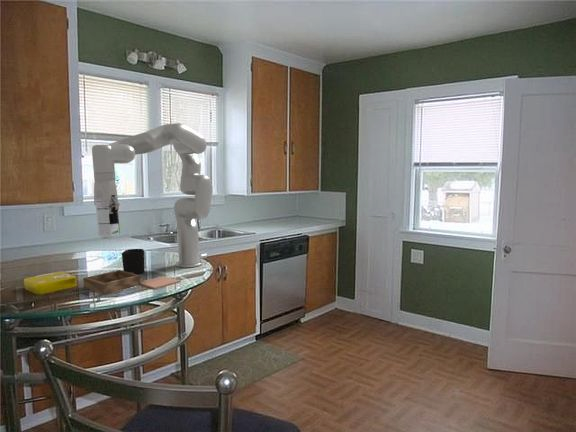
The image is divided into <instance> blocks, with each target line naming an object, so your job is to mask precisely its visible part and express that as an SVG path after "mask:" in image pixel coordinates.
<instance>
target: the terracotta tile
mask: <svg viewBox="0 0 576 432" xmlns="http://www.w3.org/2000/svg"><path fill="white" fill-rule="evenodd" d="M181 282H182V281H181V280H180V279H176V278H172V277H168V276H164V275H162V276H159V277H154V278H151V279H146V280H143V281H141V285H140V286H144V287H146V288H151V289H154V290H157V289H160V288H164V287H168V286H171V285H175V284H178V283H181Z"/></svg>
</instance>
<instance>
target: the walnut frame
mask: <svg viewBox="0 0 576 432" xmlns="http://www.w3.org/2000/svg"><path fill="white" fill-rule="evenodd" d="M82 279H83V288H84V289H86V290H89V291H92V292H95V293H97V294H101V295H103V296H104V295H109V294H113V293H117V292H120V290H121V291H124V289H125V290H128V289H131V287H132V288H135V286H136V287H139V286H142V285H141V282H142V281H141V274H139V275H137V274H133V273H129V272H126V271H124V270H123V269H122V270H121V269H118V270H112V271H109V272H104V273H100V274H95V275H90V276H86V277H83V278H82Z"/></svg>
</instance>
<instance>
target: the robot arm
mask: <svg viewBox="0 0 576 432" xmlns="http://www.w3.org/2000/svg"><path fill="white" fill-rule="evenodd" d="M171 144H172V146H173V149H174V150H175V152H176V154H177V155H178V157H179V158H180V160H181V176H180V183H179V188H180V189H179V190H180V192H181V193H182V194H184V195H186V196H194V197H181V198H178V200H176V201H175V203H174V204H173V212H174V216H175V221H176V229H177V230H176V231H177V247H178V248H177V252H178V261H177V262H175V267H177V268H182V269H183V268H196V267H199V266H200V267H201V266H203V264H204V261H203V260H202V259H205V258H206V259H207V258H208V254H207V253H203V254H202V253H200V241H199V239H200V238H199V225H198V223H197V220H204V219H206V218H207V217H208V216H209V214H210V210H211V206H212V205H211V204H212V197H213V182H212V179H211V178H210V177H209V176H208V175H206V174H201V171H202V169H201V167H202V163H201V160H200V158H199V156H198V154H199V155H200V154H203V153H204V152H205V151H206V150H207V146H208V145H207V140H206V138H205V137H204V136H203V135H202V134H200V133H199V132H197V131H195V129H194V130H193V129H192V128H190V127H189V126H187V125H185V124H184V123H179V122H177V123H176V122H175V123H166V124H162V125H159V126H157V127H154V128H152V129H150V130H147V131H143V132H142V133H139V134H134V135H132V136H128V137H125V138H122V139H119V140H116V141H113V142H111V143H109V144H94V145H92V147H91V154H92V169H93V182H94V184H93V203H94V206H95V207H96V201H95V200H96V199H101V207H105V208H106V207H108V206H109V207H108V208H109V212H110V214H109V221H110V224H117V223H118V216H119V207H120V202H119V199H118V198H119V197H118V190H117V184H116V171H115V169H116V168H115V164H120V165H121V164H128V163H131V162H133V161H134V159H135V158H136V155H143V154H149V153H153V152H155V151H157V150H159V149H161V148H164V147H166V146H168V145H171ZM110 204H111V206H110ZM111 208H113V209H111ZM117 213H118V214H117Z"/></svg>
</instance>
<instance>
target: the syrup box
mask: <svg viewBox="0 0 576 432" xmlns="http://www.w3.org/2000/svg"><path fill="white" fill-rule="evenodd" d="M95 201H96V206H95V208H96V221H97V230H98V237H113V236H117V235H120V234H121V230H120V220H119V219H120V218H119V216H120V215H119V212H118V213H117V214H118V223H117V224H110V221H109V214H110V212H109V208H108V207H109V206H108V207H106V208H105V207H101V199H96V200H95ZM110 206H111V204H110ZM111 209H113V208H111Z"/></svg>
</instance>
